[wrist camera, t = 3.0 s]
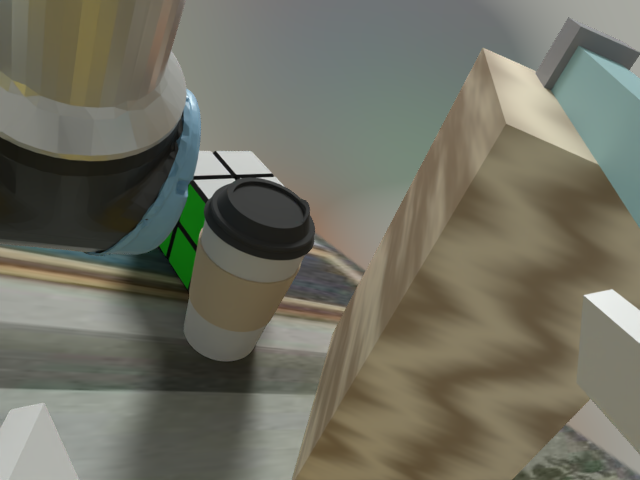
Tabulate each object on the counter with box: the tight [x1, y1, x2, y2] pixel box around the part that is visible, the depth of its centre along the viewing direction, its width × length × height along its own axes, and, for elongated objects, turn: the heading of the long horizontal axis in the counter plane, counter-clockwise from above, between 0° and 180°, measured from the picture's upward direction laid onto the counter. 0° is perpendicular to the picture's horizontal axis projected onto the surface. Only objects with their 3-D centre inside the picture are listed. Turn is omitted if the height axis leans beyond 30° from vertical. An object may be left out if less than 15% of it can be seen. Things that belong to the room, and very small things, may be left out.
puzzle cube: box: [159, 151, 284, 291], centre depth 56 cm, size 10×10×10 cm
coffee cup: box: [184, 178, 315, 361], centre depth 46 cm, size 9×9×15 cm
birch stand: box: [292, 48, 640, 480], centre depth 40 cm, size 12×18×30 cm, turn 168°
